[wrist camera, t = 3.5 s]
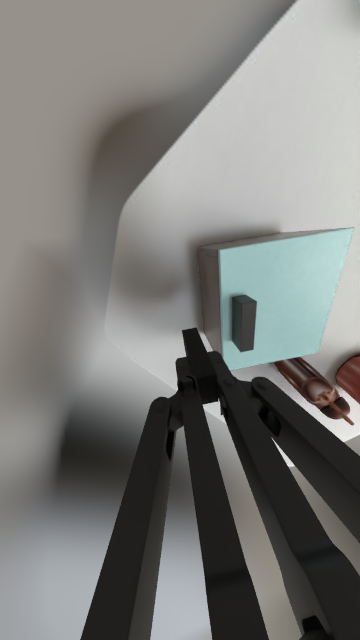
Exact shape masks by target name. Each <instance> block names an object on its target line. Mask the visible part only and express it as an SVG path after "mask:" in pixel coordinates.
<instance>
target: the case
mask: <svg viewBox="0 0 360 640" xmlns="http://www.w3.org/2000/svg"><path fill="white" fill-rule="evenodd" d="M339 229H345V228H339ZM339 229H326V230H312V231H299V232H285V233H277V234H271V235H265V236H259V237H253V238H247V239H241V240H235V241H229V242H223V243H217V244H211V245H205V246H199V247H197V256H198V267H199V278H200V289H201V300H202V311H203V322H204V333H205V335H206V337H207V339H208V341H209V343H210V345H211V347H212V349H213V351H217V352H219V353H220V354H221V356H222V345H221V318H220V290H219V263H218V250H220V249H226V248H232V247H238V246H244V245H250V244H256V243H261V242H267V241H273V240H279V239H285V238H291V237H297V236H303V235H309V234H315V233H321V232H327V231H333V230H339Z"/></svg>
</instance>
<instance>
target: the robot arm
mask: <svg viewBox="0 0 360 640" xmlns="http://www.w3.org/2000/svg"><path fill="white" fill-rule="evenodd" d="M182 333H183V339H184V346H185V352H186V356H187V357H183V358H178V359H177V360H176V363H175V364H176V371H177V378H178V381H177V385H178V391H177V392H176V394H175V395H173V396H172V397H170V398H168V399H167V398H166V397H158V398H157V399H155V400H154V401H153V402H152V404H151V405H150V409H149V412H148V415H147V419H146V422H145V425H144V429H143V432H142V435H141V439H140V442H139V445H138V449H137V452H136V456H135V459H134V462H133V465H132V469H131V473H130V476H129V479H128V482H127V486H126V489H125V492H124V496H123V499H122V502H121V506H120V509H119V513H118V516H117V519H116V522H115V526H114V529H113V533H112V536H111V539H110V542H109V546H108V549H107V553H106V556H105V559H104V563H103V566H102V569H101V572H100V576H99V579H98V582H97V586H96V589H95V592H94V596H93V599H92V603H91V606H90V609H89V613H88V616H87V619H86V623H85V626H84V630H83V633H82V636H81V639H80V640H150V636H151V628H152V621H153V613H154V605H155V596H156V589H157V581H158V573H159V565H160V557H161V550H162V542H163V534H164V526H165V517H166V510H167V502H168V494H169V486H170V478H171V471H172V463H173V455H174V447H175V439H176V431H177V429H179V428H181V427H182V426H184V431H185V438H186V445H187V452H188V460H189V467H190V474H191V481H192V488H193V496H194V502H195V510H196V517H197V524H198V532H199V539H200V546H201V552H202V560H203V568H204V575H205V585H206V594H207V603H208V610H209V618H210V625H211V632H212V640H269V638H268V635H267V631H266V628H265V624H264V621H263V617H262V613H261V610H260V606H259V603H258V599H257V596H256V592H255V589H254V586H253V582H252V579H251V576H250V574H249V571H248V568H247V566H246V563H245V559H244V555H243V552H242V548H241V544H240V540H239V537H238V533H237V530H236V526H235V522H234V518H233V515H232V511H231V508H230V504H229V500H228V497H227V493H226V489H225V486H224V482H223V478H222V475H221V471H220V468H219V464H218V460H217V457H216V453H215V449H214V445H213V442H212V438H211V435H210V431H209V427H208V423H207V420H206V416H205V412H204V409H203V404H208V403H212V402H217V401H218V398H219V401H220V407H221V415H224V418H225V421H226V424H227V426H228V429H229V432H230V434H231V436H232V440H233V442H234V445H235V448H236V450H237V453H238V456H239V458H240V461H241V464H242V467H243V469H244V472H245V474H246V477H247V480H248V483H249V485H250V488H251V491H252V493H253V496H254V499H255V501H256V504H257V507H258V509H259V512H260V515H261V517H262V520H263V523H264V526H265V528H266V531H267V534H268V536H269V539H270V542H271V544H272V547H273V550H274V553H275V555H276V558H277V560H278V563H279V566H280V570H281V573H282V577H283V582H284V586H285V588H286V592H287V595H288V598H289V601H290V604H291V607H292V609H293V612H294V615H295V618H296V621H297V623H298V626H299V629H300V632H301V634H302V637H301V638H300V639H299V640H360V576H359V574H358V573H357V571H356V570H355V568H354V567H353V565H352V564H351V562H350V561H349V560H348V559H347V557H346V556H345V555H344V554H343V553H342V552H341V551H340V550H339V549H338V548H337V547H336V546H335V545H334V544H333V543H332V541H331V540H330V539H329V537H328V536H327V534H326V532H325V530H324V529H323V527H322V525H321V523H320V522H319V520H318V518H317V516H316V515H315V513H314V511H313V509H312V508H311V506H310V504H309V503H308V501H307V499H306V497H305V495H304V494H303V492H302V490H301V489H300V487H299V485H298V483H297V481H296V480H295V478H294V476H293V475H292V473H291V471H290V469H289V468H288V466H287V464H286V462H285V461H284V459H283V457H282V455H281V454H280V452H279V450H278V448H277V447H276V445H275V443H274V441H275V442H276V443H277V444H278V446H279V447H280V448H281V449H282V450H283V452H284V453H285V454H286V455H287V456H288V458H289V459H290V460H291V461H292V462H293V464H294V465H295V466H296V467H297V468H298V470H299V471H300V472H301V473H302V474H303V476H304V477H305V478H306V479H307V480H308V482H309V483H310V484H311V485H312V486H313V488H314V489H315V490H316V491H317V492H318V494H319V495H320V496H321V497H322V499H323V500H324V501H325V502H326V503H327V505H328V506H329V507H330V508H331V509H332V511H334V513H335V514H336V515H337V517H338V518H339V519H340V520H341V521H342V523H343V524H344V525H345V526H346V527H347V529H348V530H349V531H350V532H351V533H352V534H353V536H354V537H355V538H356V539H357V541H358V542H359V543H360V456H359V455H358V454H357V453H355V452H354V451H353V450H352V449H351V448H349V447H348V446H347V445H346V444H345V443H344V442H342V441H341V440H340V439H339V438H338V437H336V436H335V435H334V434H333V433H332V432H331V431H329V430H328V429H327V428H326V427H325V426H323V425H322V424H321V423H320V422H319V421H317V420H316V419H315V418H314V417H313V416H312V415H310V414H309V413H308V412H307V411H306V410H304V409H303V408H302V407H301V406H300V405H299V404H297V403H296V402H295V401H294V400H293V399H291V398H290V397H289V396H288V395H287V394H286V393H284V392H283V391H282V390H281V389H280V388H278V387H277V386H276V385H275V384H274V383H273V382H271V381H270V380H269V379H267V378H264V377H255V378H254V379H252V382H248V381H241V380H238V379H237V378H236V377H234V376H233V375H232V374H231V372H230V370H229V368H228V366H227V365H226V363H225V361H224V359H223V357H222V356H221V354H220V353H219V352H217V351H212V352H207V351H206V348H205V346H204V344H203V342H202V339H201V337H200V335H199V333H198V330H197V328H192V329H187V330H182ZM271 437H272V438H273V440H274V441H273V440H272V438H271Z"/></svg>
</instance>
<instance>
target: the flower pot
mask: <svg viewBox="0 0 360 640" xmlns="http://www.w3.org/2000/svg"><path fill="white" fill-rule="evenodd" d="M336 379H337V384H338V385H339V386H340V387H342V388H343V389H344V390H345V391H346V392H347V393H348V394H349V395H350V396H351V397H352V398H353V399H355V400H356V401H357V402H358V403H359V404H360V356H359V357H353V358H351V359H350V360H348V361H347V362H346V363H345V364H344V365H343V366H342V367H341V368H340V370H339V371H338V373H337V375H336Z"/></svg>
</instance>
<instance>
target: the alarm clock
mask: <svg viewBox="0 0 360 640" xmlns="http://www.w3.org/2000/svg"><path fill="white" fill-rule="evenodd" d="M274 364H275V365H276V366H277V369H278V371H279V372H280V373H281V374H282V375H283V376H284V378H285V379H286V380H287V381H288V382H289V383H290V384H291V385H292V386H293V387H294V388H295V389H296V390H297V391H298V392H299V393H300V394H301V395H302V396H303V397H304V398H305V399H306V400H307V401H308V402H309V403H311V404H313V405H315V406H316V407H317V408H318V409H320V411H321V412H322V413H323V414H325V415H326V416H327V417H329V418H331V419H341V418H343V419H344V420H345V421H347V422H348V423H349V424H350V425H354V423H353V422H352V421H351V420H350V419H349V418H348V417H347V415H348V414H349V412H350V406H349V404H348V403H347V402H346V401H345V399H344V398H343V397H340V395H339V394H338V391H337V390H336V389H335V388H334V387H333V386H332V385H331V384H330V383H329V382H328V381H327V380H326V379H325V378H324V377H323V376H322V375H321V374H320V373H318V372H317V371H316V370H315V369H314V368H313V367H312V366H310V365H309V364H308V363H307V362H306V361H304V360H303V359H302V358H301V357H295V358H290V359H285V360H280V361H275V363H274Z"/></svg>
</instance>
